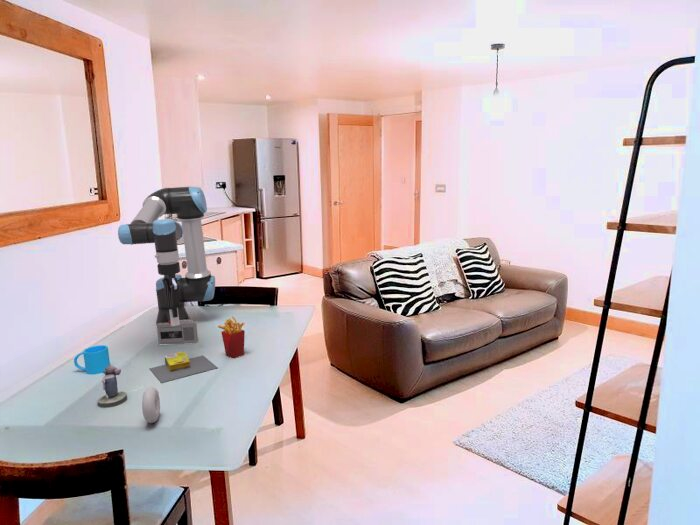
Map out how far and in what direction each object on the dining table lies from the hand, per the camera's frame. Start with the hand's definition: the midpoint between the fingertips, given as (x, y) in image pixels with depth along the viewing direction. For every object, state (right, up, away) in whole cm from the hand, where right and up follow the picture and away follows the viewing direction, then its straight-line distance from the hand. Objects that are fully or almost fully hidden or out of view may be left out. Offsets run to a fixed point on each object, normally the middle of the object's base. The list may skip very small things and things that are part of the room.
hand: (175, 324), depth 184 cm
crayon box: (-2, -13, +6) cm, 14 cm away
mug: (-30, -17, 0) cm, 35 cm away
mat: (+4, -16, -2) cm, 16 cm away
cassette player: (-8, -11, +26) cm, 30 cm away
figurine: (-11, -21, -26) cm, 35 cm away
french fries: (+19, -13, +9) cm, 25 cm away
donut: (+8, -23, -40) cm, 47 cm away
